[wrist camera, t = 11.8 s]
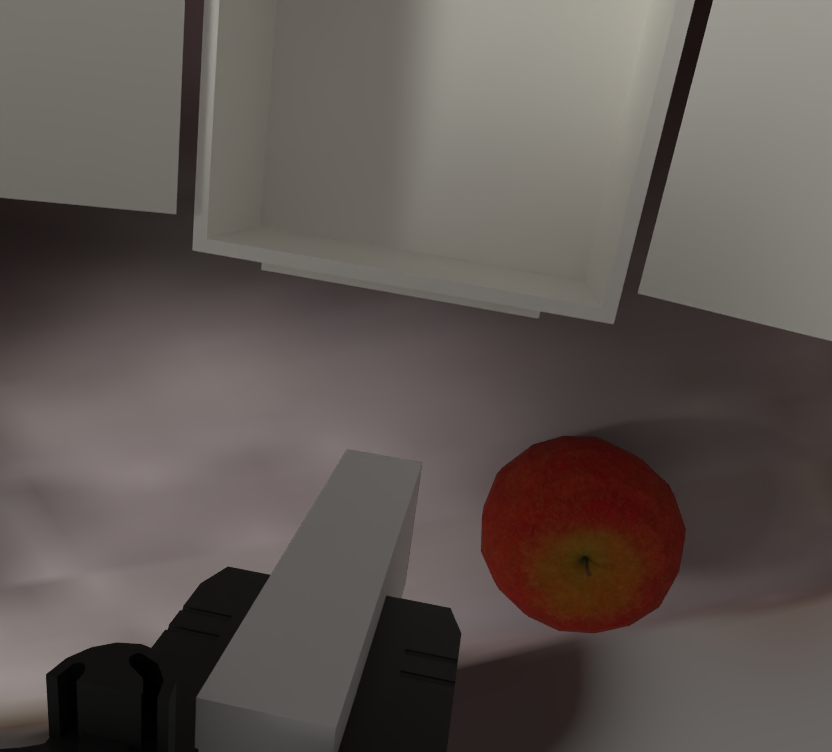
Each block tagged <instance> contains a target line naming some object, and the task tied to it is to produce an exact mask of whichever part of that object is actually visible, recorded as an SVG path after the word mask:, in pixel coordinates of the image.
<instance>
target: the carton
mask: <svg viewBox="0 0 832 752" xmlns="http://www.w3.org/2000/svg"><path fill="white" fill-rule="evenodd" d="M694 2H695V0H204V19H203V39H202V60H201V81H200V102H199V122H198V143H197V164H196V185H195V205H194V226H193V247H192V250H193V251H198V252H204V253H210V254H216V255H221V256H227V257H233V258H238V259H244V260H250V261H255V262H261V263H262V266H261V270H265V271H271V272H276V273H282V274H288V275H293V276H299V277H305V278H310V279H316V280H322V281H327V282H333V283H339V284H344V285H350V286H356V287H361V288H367V289H373V290H378V291H384V292H390V293H395V294H401V295H407V296H413V297H418V298H424V299H430V300H435V301H441V302H447V303H452V304H458V305H464V306H469V307H475V308H481V309H486V310H492V311H498V312H503V313H509V314H515V315H520V316H526V317H532V318H537V319H539V315H540V311H541V312H546V313H552V314H558V315H563V316H569V317H575V318H580V319H586V320H592V321H598V322H603V323H609V324H614V321H615V317H616V313H617V309H618V305H619V301H620V297H621V293H622V289H623V285H624V281H625V277H626V273H627V269H628V265H629V261H630V257H631V253H632V249H633V245H634V241H635V237H636V233H637V229H638V225H639V221H640V217H641V213H642V209H643V205H644V201H645V197H646V193H647V189H648V185H649V181H650V177H651V173H652V169H653V165H654V161H655V157H656V153H657V149H658V146H659V142H660V138H661V134H662V130H663V126H664V122H665V118H666V114H667V110H668V106H669V102H670V98H671V94H672V90H673V86H674V82H675V78H676V74H677V70H678V66H679V62H680V58H681V54H682V50H683V46H684V42H685V38H686V34H687V30H688V26H689V22H690V18H691V14H692V10H693V6H694Z"/></svg>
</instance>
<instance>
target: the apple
mask: <svg viewBox="0 0 832 752" xmlns="http://www.w3.org/2000/svg"><path fill="white" fill-rule="evenodd" d="M685 530H686V529H685V526H684V523H683V520H682V517H681V514H680V511H679V508H678V505H677V502H676V499H675V496H674V494H673V492H672V490H671V488H670V486H669V485H668V484H667V483H666V482H665V481H664V480H663V479H662V478H661V477H660V476H659V475H658V474H657V473H656V472H655V471H653V470H652V469H651V468H650V467H649V466H648V465H647V464H646V463H645V462H644V461H643V460H642V459H640V458H638V457H636V456H635V455H633V454H631V453H629V452H627V451H625V450H623V449H621V448H619V447H617V446H615V445H613V444H611V443H609V442H607V441H604V440H602V439H599V438H596V437H577V436H562V437H558V438H555V439H551V440H547V441H544V442H540V443H537V444H533V445H532V446H531V447H529V448H528V449H527V450H525V451H524V452H523V453H521V454H520V455H519V456H517V457H516V458H515V459H513V460H512V461H511V462H509V463H508V464H507V465H505V466H504V467H502V469H501V470H500V471H499V472H498V473H497V475H496V478H495V480H494V482H493V485H492V487H491V490H490V492H489V495H488V497H487V500H486V502H485V504H484V508H483V514H482V536H481V552H482V555H483V557H484V559H485V561H486V564H487V566H488V568H489V570H490V573H491V575H492V577H493V579H494V582H495V583H496V585H497V587H498V588H499V590H500V591H502V592H503V593H504V594H505V595H506V596H507V597H508V598H509V599H510V600H511V601H512V602H513V603H514V604H515V605H516V606H517V607H518V608H519V609H520V610H521V611H522V612H523V613H524V614H526V615H527V616H528V617H530V618H533V619H535V620H537V621H539V622H541V623H543V624H545V625H548V626H550V627H552V628H554V629H556V630H558V631H568V632H583V633H598V632H603V631H607V630H612V629H616V628H621V627H625V626H630V625H631V624H633V623H634V622H636V621H638V620H639V619H641V618H642V617H644V616H646V615H647V614H649V613H650V612H652V611H654V610H655V609H657V608H658V607H659V606H660V605H661V603H662V601H663V599H664V598H665V596H666V594H667V592H668V591H669V589H670V587H671V585H672V584H673V582H674V580H675V578H676V576H677V574H678V572H679V569H680V563H681V557H682V552H683V546H684V540H685Z"/></svg>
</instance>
